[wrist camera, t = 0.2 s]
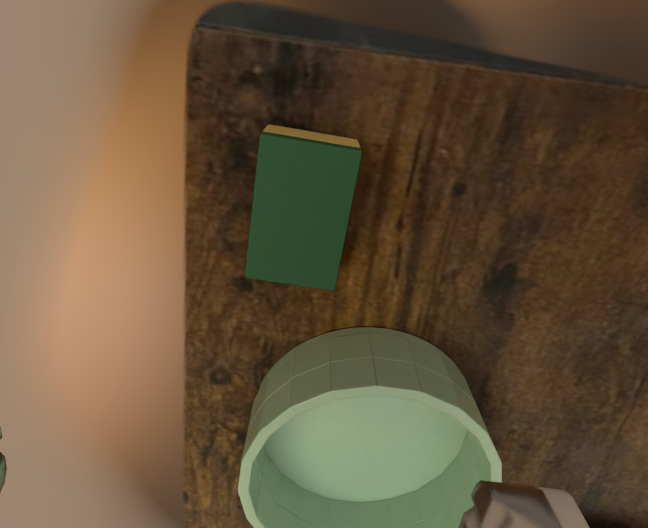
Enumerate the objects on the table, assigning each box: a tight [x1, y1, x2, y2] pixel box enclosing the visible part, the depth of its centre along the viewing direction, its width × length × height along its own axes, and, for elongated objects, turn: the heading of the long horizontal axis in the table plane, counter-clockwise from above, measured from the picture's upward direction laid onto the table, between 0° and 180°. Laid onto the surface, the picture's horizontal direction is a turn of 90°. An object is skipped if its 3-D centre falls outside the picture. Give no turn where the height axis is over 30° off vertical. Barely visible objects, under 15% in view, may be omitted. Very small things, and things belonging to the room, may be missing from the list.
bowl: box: [238, 327, 502, 528], centre depth 28 cm, size 14×14×6 cm
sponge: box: [245, 124, 362, 291], centre depth 23 cm, size 7×4×3 cm, turn 171°
